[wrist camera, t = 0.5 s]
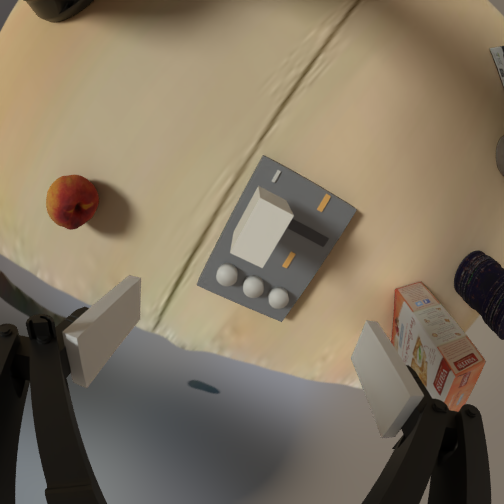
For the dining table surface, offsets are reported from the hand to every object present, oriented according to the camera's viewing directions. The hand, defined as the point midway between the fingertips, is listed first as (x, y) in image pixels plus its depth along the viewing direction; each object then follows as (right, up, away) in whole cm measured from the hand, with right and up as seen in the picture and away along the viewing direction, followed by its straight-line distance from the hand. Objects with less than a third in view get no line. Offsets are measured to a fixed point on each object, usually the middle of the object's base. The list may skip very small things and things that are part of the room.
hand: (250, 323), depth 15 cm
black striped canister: (+42, 0, +27) cm, 50 cm away
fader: (+1, +9, +20) cm, 22 cm away
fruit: (-25, +13, +21) cm, 35 cm away
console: (+3, +5, +24) cm, 25 cm away
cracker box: (+28, -8, +30) cm, 42 cm away
